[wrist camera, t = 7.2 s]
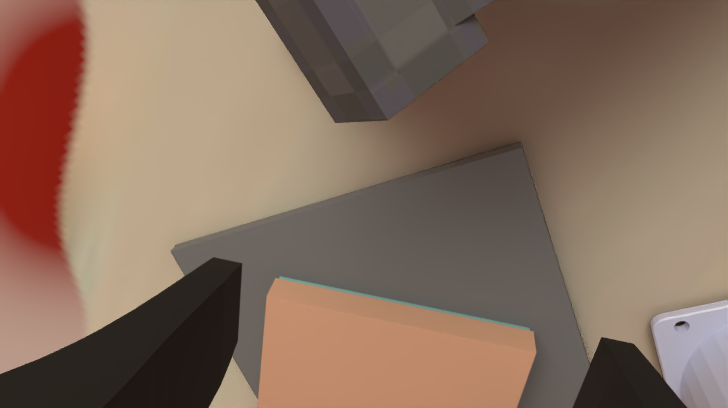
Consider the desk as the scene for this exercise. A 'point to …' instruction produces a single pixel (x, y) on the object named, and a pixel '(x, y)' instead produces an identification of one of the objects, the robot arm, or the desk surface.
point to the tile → (385, 353)
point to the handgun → (375, 49)
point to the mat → (420, 260)
